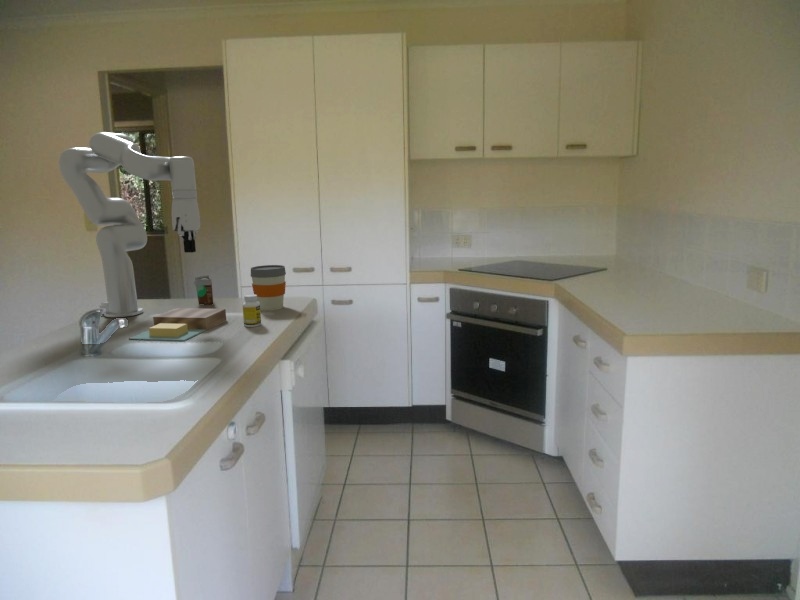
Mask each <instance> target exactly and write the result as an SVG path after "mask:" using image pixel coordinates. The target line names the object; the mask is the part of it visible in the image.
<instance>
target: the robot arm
mask: <svg viewBox="0 0 800 600" xmlns="http://www.w3.org/2000/svg"><path fill="white" fill-rule="evenodd" d="M88 145H89V147H81V146H80V147H78V146H77V147H70V148H66V149H64V150H63V151H62V152H61V153H60V155H59V159H58V168H59V172H60V175H61V176H62V178H63V180H64V182H65V183H66V185H67V186H68V187H69V189H70V190H71V191H72V193H73V194H74V196H75V197H76V199H77V201H78V204H79V205H80V207H81V208H82V211H83V213H84V215H85V216H86V217H87V219H88V221H89V222H90V223H91V224H93V225H94V226H104V227H101V228H100V229H99V230H98V231H97V232H96V234H95V235H96V236H95V242H96V245H97V249H98V251H99V254H100V258H101V262H102V269H103V277H104V283H105V284H104V286H105V293H106V299H107V301H106V302H103V301H102V302H101V303H100V305H99V309H105V311H104V313H103V315H104V317H106V318H126V317H132V316H137V315H140V314H142V313H144V308H143V307H139V304H138V296H137V287H136V280H135V272H134V270H135V269H134V266H133V265H134V264H133V261H132V259H131V257H130V256H129V254H128V253H127V252H132V251H138V250H141V249H143V248H144V247H146V245H147V242H148V234H147V231H146V229H145V227H144V225H143V224H142V222H141V220H140V218H139V216H138V215H137V213H136V211H135V208H133V206H132V204H131V203H130V202H129V201H128V200H126V199H124V198H121V197H108V196H107V195H106V194H105V192H104V191H103V190H102V187H101V186H100V184H98V182H97V181H96V180H95V179H93V178H92V176H90V175H88V173H89V174H92V173H93V174H106V173H111V171H112V172H113V170H115V169H117V168H118V167H120V166H122V168H123V170H125V172H127V173H128V174H130V175H132V176H134V177H137V178H140V179H143V180H146V181H170V185H171V187H170V188H171V194H172V195H171V196H172V202H171V226H172V231H174V232H177V236H179V237H181V240H182V241H183V251H184V253H195V252H196V251H197V250H196V248H197V247H196V238H197V237H196V235H197V234H198V233H199V231H200V230H199V229H200V228H201V226H202V225H201V217H200V216H201V215H200V214H201V213H200V208H199V204H198V192H197V183H196V182H197V180H196V170H195V169H196V168H195V161H194V159H193V158H192V156H183V155H181V156H180V155H179V156H171V157H170V156H159V155H156V156H154V155H153V156H152V155H146V154H142V153H141V148H140V147H139V145H138V144H137V143H135V142H134V141H133V140H132V139H131V138H130V136H128V135H127V134H124V133H118V132H117V133H115V132H107V131H101V132H97V133H94V134H93V135H91V137H90V138H89V141H88Z"/></svg>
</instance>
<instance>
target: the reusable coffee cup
mask: <svg viewBox="0 0 800 600" xmlns="http://www.w3.org/2000/svg"><path fill="white" fill-rule="evenodd" d="M286 274H287V272H286V267H285V265H282V264H281V265H279V264H266V265H257V266H252V267H250V277H251V280H252V283H251V286H252V290H253V292H252V293H253V294H255V295H257V301H258V302H259V303H260V311H266V310H268V311H277V310H280V309H283V308H284V297H285V294H286V286H287V285H286V284H287V283H286V282H287V281H286Z"/></svg>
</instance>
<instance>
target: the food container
mask: <svg viewBox="0 0 800 600" xmlns="http://www.w3.org/2000/svg"><path fill="white" fill-rule="evenodd" d="M212 283H213V282H212V278H210V275H200V276H197V277H194V279H193V285H195V289H196V296H197V301H198V304H199V305H200V304H204V305H203V306H213V305H214V297H213V296H214V293H213V284H212ZM212 304H213V305H212Z"/></svg>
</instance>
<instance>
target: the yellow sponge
mask: <svg viewBox="0 0 800 600" xmlns="http://www.w3.org/2000/svg"><path fill="white" fill-rule="evenodd" d="M148 330H149V335H150V336H163V337H178V336H180V335H182V334H184V333H186V332H188V328H187V324H171V323H160V324H157V325H155V326H154V325H153V326H151V327H148Z"/></svg>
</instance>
